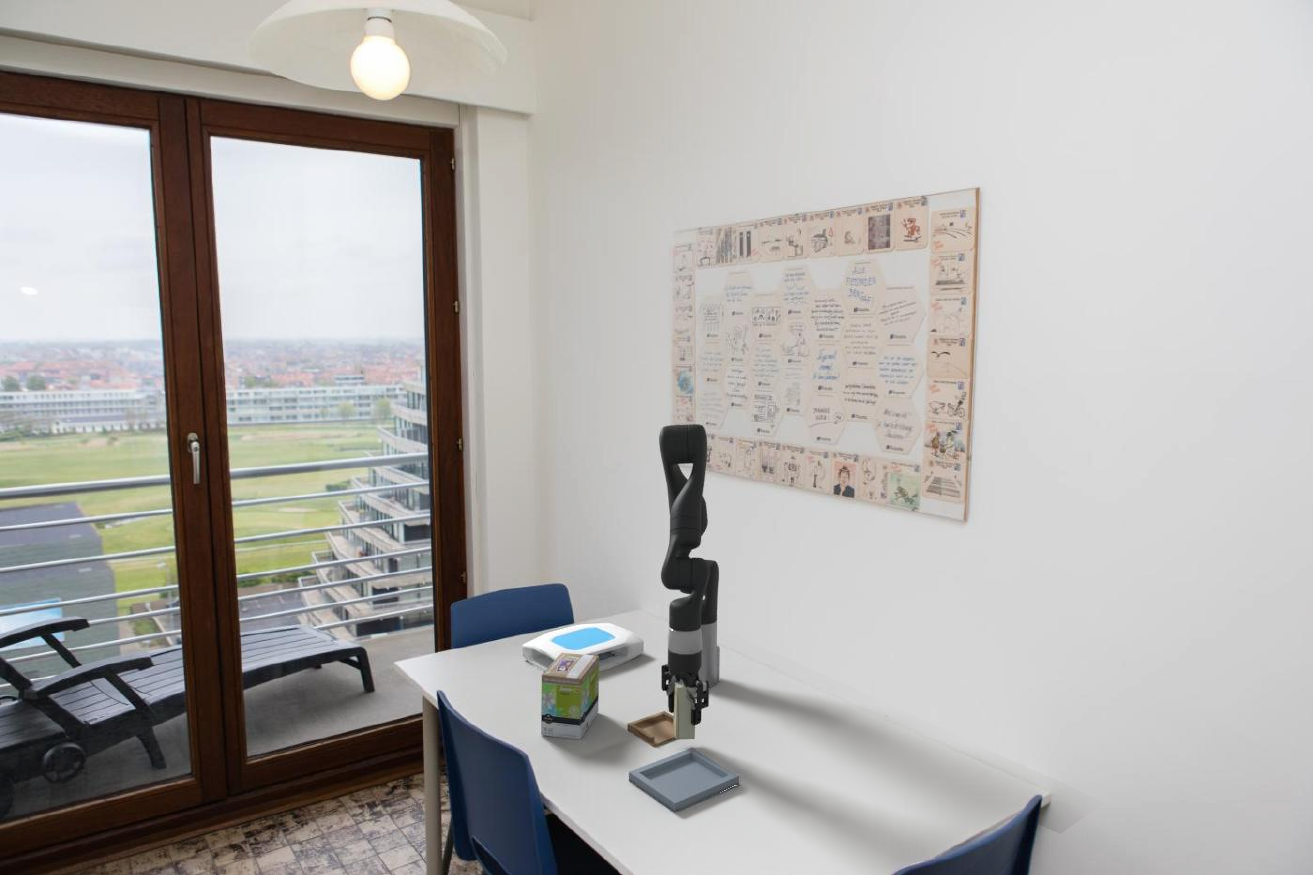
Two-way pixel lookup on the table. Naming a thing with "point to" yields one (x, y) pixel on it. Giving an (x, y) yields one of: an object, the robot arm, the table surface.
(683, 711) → the skincare box
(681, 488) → the robot arm
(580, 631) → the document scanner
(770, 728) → the table surface
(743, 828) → the table surface
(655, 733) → the holder
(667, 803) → the tray
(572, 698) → the tea box
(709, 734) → the table surface
